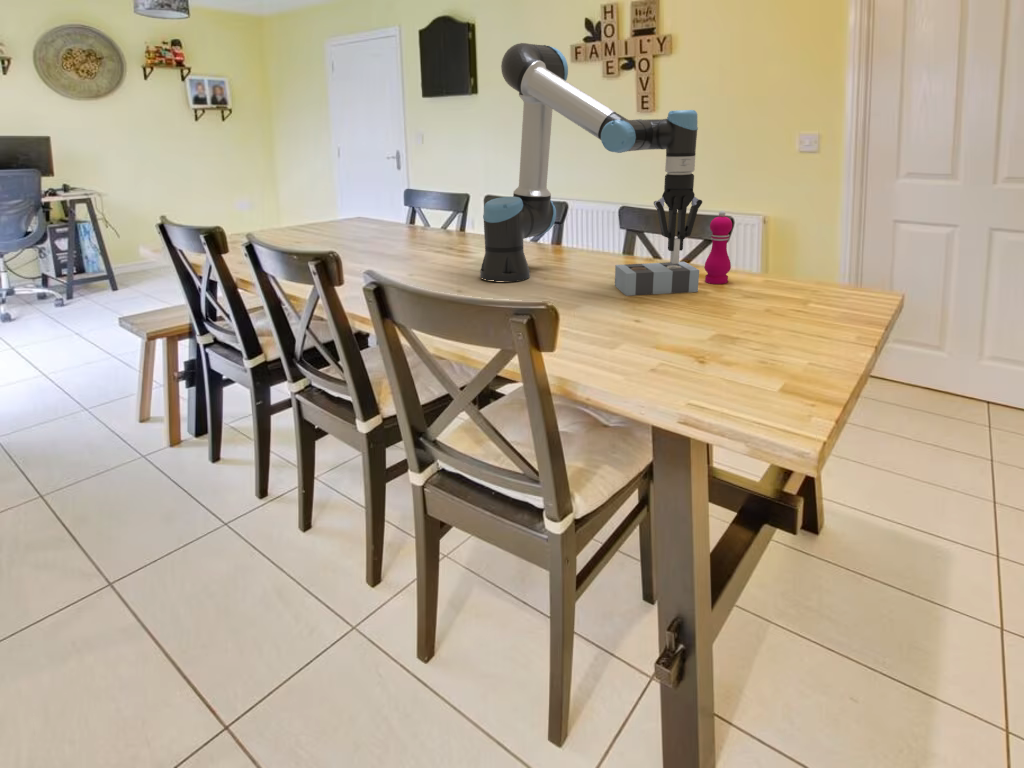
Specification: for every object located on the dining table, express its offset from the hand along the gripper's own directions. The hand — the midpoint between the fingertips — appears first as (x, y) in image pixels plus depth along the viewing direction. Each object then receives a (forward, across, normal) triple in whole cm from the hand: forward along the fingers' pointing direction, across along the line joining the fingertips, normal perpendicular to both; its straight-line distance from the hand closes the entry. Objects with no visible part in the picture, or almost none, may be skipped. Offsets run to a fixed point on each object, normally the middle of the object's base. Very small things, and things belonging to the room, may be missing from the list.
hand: (674, 262), depth 185 cm
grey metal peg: (+7, 0, 0) cm, 7 cm away
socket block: (+7, -5, 0) cm, 9 cm away
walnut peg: (+7, -10, 0) cm, 12 cm away
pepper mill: (+7, +14, +5) cm, 17 cm away
